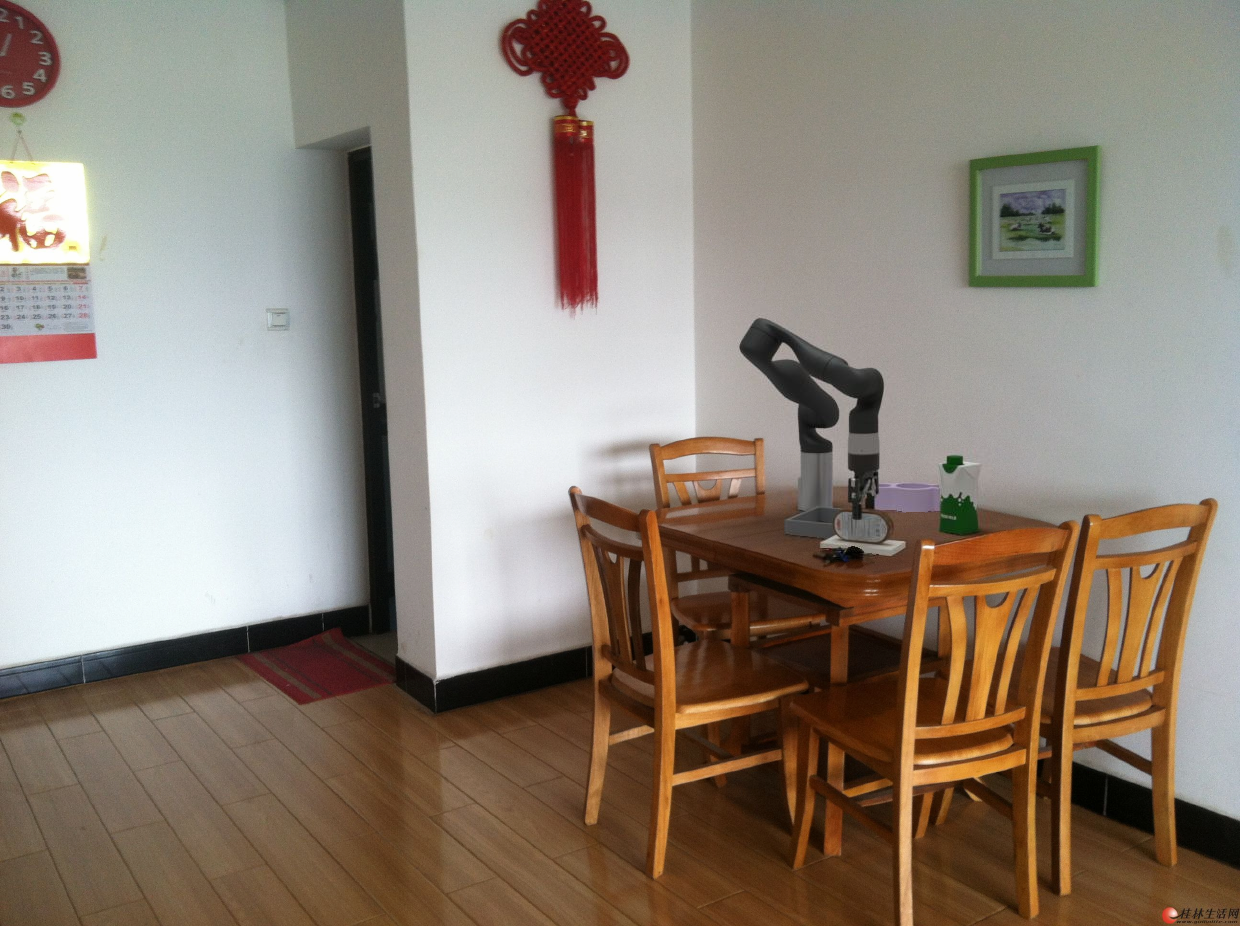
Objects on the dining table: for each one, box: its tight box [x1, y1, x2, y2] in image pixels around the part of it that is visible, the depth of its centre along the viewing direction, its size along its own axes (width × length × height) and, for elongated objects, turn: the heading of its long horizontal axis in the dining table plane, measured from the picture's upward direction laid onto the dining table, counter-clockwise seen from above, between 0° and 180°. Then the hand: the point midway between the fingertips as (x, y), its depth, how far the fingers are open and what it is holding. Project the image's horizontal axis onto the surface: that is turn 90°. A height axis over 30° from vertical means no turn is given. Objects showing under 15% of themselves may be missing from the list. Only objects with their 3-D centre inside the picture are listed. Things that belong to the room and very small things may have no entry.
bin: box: [784, 506, 843, 540], centre depth 284 cm, size 15×21×4 cm
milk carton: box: [938, 454, 982, 536], centre depth 276 cm, size 9×9×20 cm
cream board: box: [819, 535, 906, 557], centre depth 262 cm, size 18×10×2 cm, turn 56°
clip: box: [874, 481, 941, 513], centre depth 310 cm, size 20×12×7 cm, turn 75°
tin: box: [832, 506, 895, 544], centre depth 261 cm, size 15×3×8 cm, turn 56°
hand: (863, 516), depth 261 cm, fingers open, 8 cm apart
